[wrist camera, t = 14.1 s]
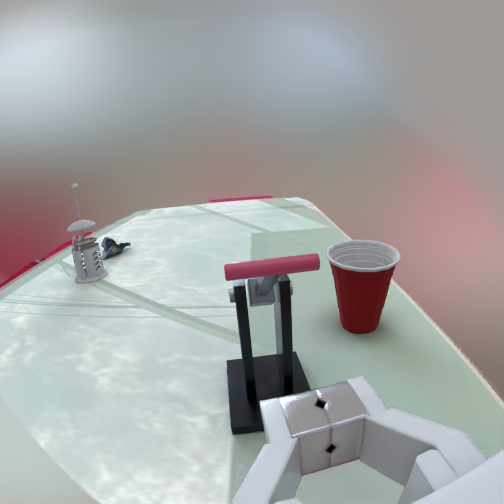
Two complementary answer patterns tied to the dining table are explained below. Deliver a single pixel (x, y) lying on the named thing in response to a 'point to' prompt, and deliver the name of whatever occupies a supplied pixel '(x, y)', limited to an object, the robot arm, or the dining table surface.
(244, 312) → the bracket
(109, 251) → the snack package
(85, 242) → the french press
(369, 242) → the plastic cup
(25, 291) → the dining table surface
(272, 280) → the lever
